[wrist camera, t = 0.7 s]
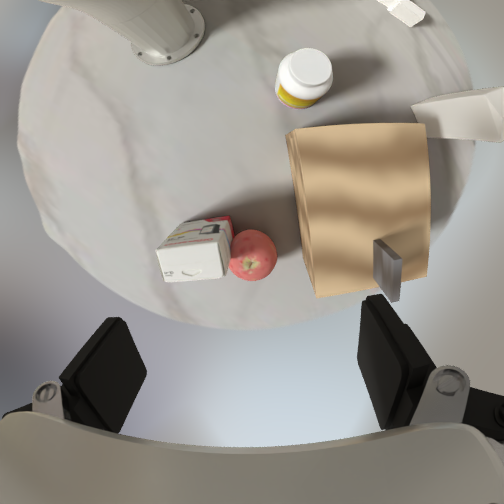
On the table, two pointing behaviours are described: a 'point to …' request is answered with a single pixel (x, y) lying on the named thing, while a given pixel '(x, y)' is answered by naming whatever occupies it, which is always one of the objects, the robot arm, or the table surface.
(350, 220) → the lid
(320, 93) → the supplement bottle
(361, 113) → the table surface
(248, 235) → the apple
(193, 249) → the ink box
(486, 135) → the milk
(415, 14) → the white stepped block
